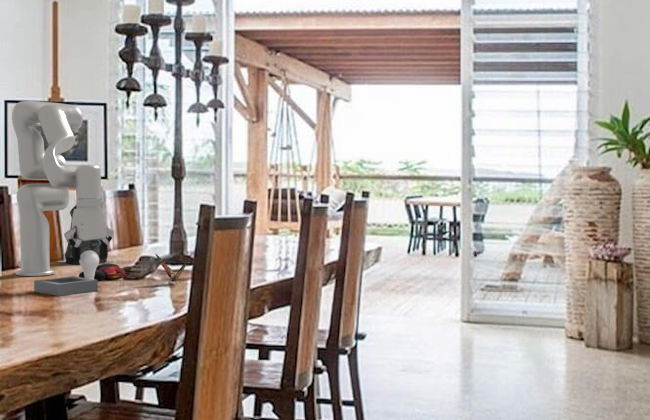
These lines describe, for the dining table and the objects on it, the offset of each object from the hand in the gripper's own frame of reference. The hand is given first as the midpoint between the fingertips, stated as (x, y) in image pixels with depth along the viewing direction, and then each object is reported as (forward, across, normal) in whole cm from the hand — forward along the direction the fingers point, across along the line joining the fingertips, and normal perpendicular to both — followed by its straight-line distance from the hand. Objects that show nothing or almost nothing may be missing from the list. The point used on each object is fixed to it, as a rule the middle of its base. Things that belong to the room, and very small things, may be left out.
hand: (90, 258), depth 238 cm
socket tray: (+9, +12, +5) cm, 16 cm away
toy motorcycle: (+9, -16, -12) cm, 22 cm away
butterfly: (+9, -18, +18) cm, 27 cm away
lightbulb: (+9, 0, -1) cm, 9 cm away
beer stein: (+7, -36, -59) cm, 69 cm away
